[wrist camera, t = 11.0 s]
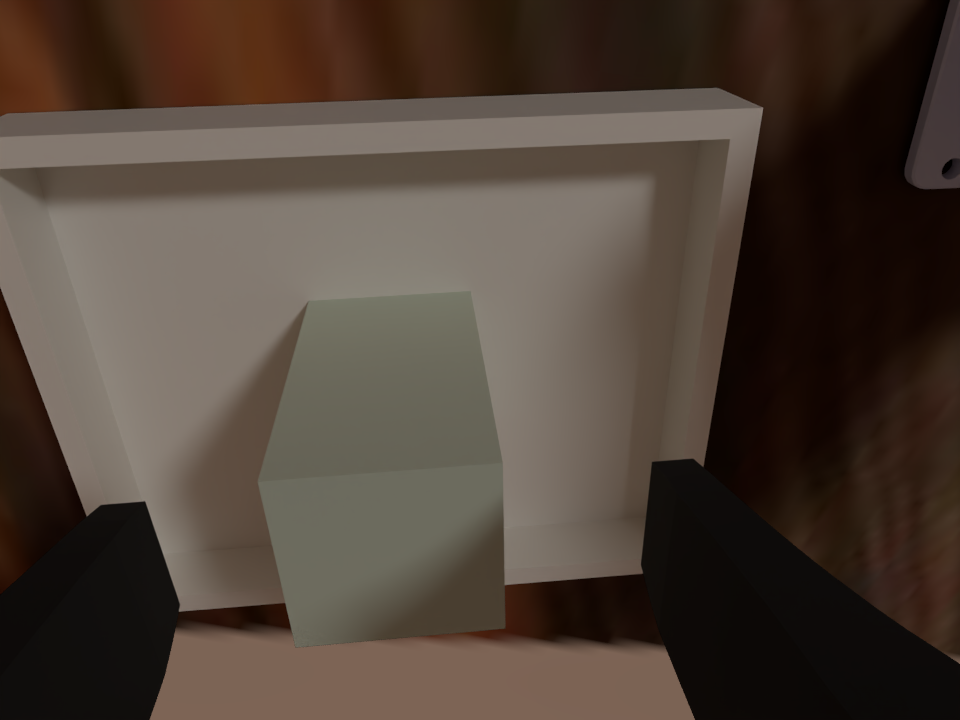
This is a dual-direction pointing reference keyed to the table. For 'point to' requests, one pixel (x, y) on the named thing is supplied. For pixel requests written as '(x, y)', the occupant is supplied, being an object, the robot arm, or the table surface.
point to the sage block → (387, 474)
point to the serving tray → (374, 273)
